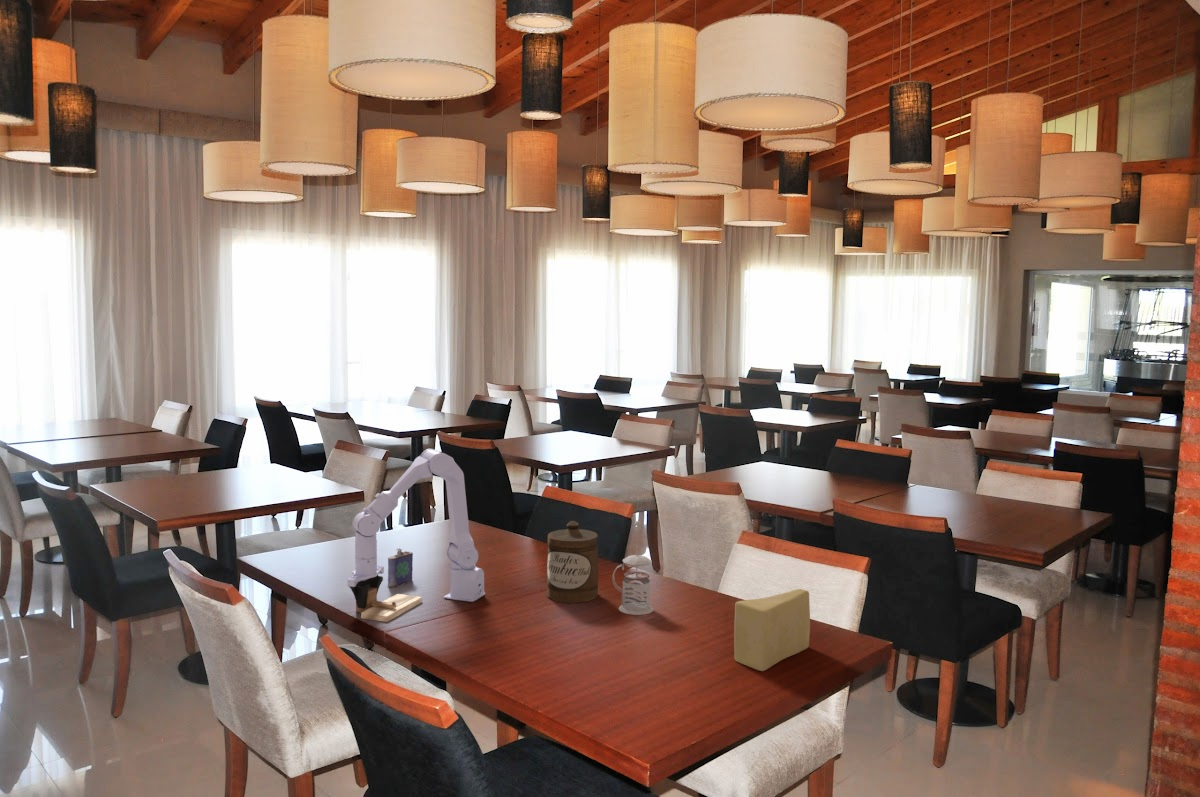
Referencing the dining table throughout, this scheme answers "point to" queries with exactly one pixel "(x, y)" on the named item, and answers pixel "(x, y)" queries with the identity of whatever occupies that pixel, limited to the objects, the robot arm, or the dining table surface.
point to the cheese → (771, 628)
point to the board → (388, 614)
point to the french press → (635, 585)
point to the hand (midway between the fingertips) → (366, 605)
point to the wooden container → (572, 565)
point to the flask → (400, 568)
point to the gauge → (374, 601)
